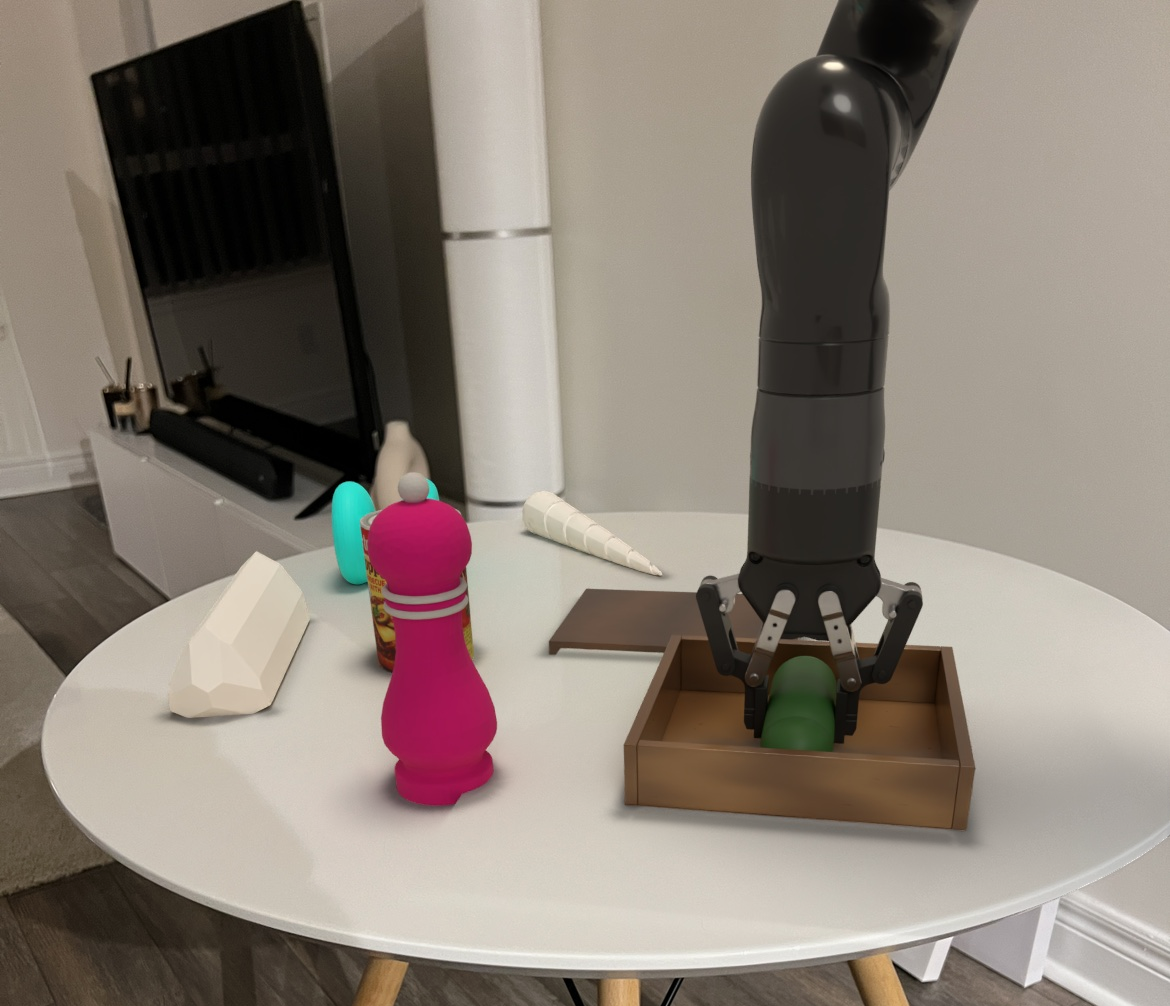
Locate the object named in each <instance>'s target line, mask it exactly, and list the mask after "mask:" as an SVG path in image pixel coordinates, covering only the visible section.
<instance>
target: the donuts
mask: <svg viewBox="0 0 1170 1006" xmlns="http://www.w3.org/2000/svg"><path fill="white" fill-rule="evenodd" d="M426 480H427V481H428V484H429V494H428V496H427V498H428V499H434V500H438V501H440V497H439V492H438V488H437V487H436V485H435V483H433V481H432V480H430V479H428V478H426ZM332 495H333V496H332V501H331V529H332V540H333V545H334V547H333V548H334V553H335V558H336V562H337V566H338V568H339V571H340V574H341V576H342V577H343V578H344V580H345V581H347V582H348V583H350V584H352V585H356V586H357V585H359V586H360V585H363V584H367V583H368V580H367V573H366V565H365V558H364V550H363V543H362V535H361V527H360V520H361V518H362V517H363V516H365V515H367V514H369V513H372V512H375V511H376V508H375V505H374V502H373V500H372V498H371V495H370V494H369V492H368V490H366V489H365V487H363V486H362V485H361V484H359V483H358V482H355V481H345V482H342V483H340V484H339V485H338V486H337V487H336V488H335V490H334V493H333V494H332ZM402 500H403V499H402V498H401V500H400V501H402Z"/></svg>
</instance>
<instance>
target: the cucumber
mask: <svg viewBox="0 0 1170 1006" xmlns="http://www.w3.org/2000/svg"><path fill="white" fill-rule="evenodd" d="M836 693H837V683H836V679H835V676H834V674H833V672H832V670H831V669H830V668H829V666H828V665H826V664H825V663H824V662H823V661H821V660H819V659H818V658H815V657H811V656H799V657H794V658H792V659H790V660H788V661H786V662H785V663H783V664H782V665H781V666H780V667H779V668H778V670H777V671H776V673H775V675H774V677H773V680H772V684H771V689H770V695H769V700H768V705H767V710H766V716H765V721H764V726H763V731H762V736H761V741H760V748H774V749H790V750H806V751H822V752H833V747H834V730H835V707H836Z"/></svg>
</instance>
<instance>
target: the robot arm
mask: <svg viewBox="0 0 1170 1006" xmlns="http://www.w3.org/2000/svg"><path fill="white" fill-rule="evenodd" d="M979 1H980V0H838V1H837V3H836V5H835V7H834V10H833V13H832V15H831V17H830V19H829V23H828V25H827V28H826V30H825V32H824V35H823V37H822V40H821V42H820V45H819V47H818V50H817V52H816V55H815V56H813V57H810V58H808V59H805V60H803V61H801V62H799V63H797V64H795V65H794V66H793V67H791V68H790V69H789V70H788V71H786V72H785V73H784V74H783V75H782V76H781V77H780V78H779V79H778V80H777V81H776V83H775V84H774V85H773V87H772V88H771V90H770V91H769V93H768V94H767V96H766V98H765V100H764V102H763V104H762V106H761V109H760V112H759V114H758V118H757V121H756V125H755V128H754V134H753V140H752V150H751V163H750V164H751V166H750V192H751V193H750V195H751V211H752V223H753V224H752V225H753V235H754V245H755V254H756V255H755V256H756V264H757V265H756V266H757V272H758V280H759V288H760V298H761V301H760V303H761V305H760V306H761V308H760V315H759V327H758V339H757V340H758V342H757V369H756V370H757V372H756V373H757V374H756V376H757V377H756V387H757V388H756V393H755V394H756V396H755V404H754V410H753V411H754V412H753V416H752V422H751V431H750V432H751V433H750V452H749V485H748V515H747V516H748V517H747V547H746V548H747V549H746V559H745V561H744V563H742V566H741V567H740V569H739V573H736V574H732V575H727V576H724V577H720V578H718V577H716V576H715V575H711V574H710V575H706V576H704V577H703V578H702V580H701V582H700V584H699V585H698V588H697V591H696V592H697V593H696V600H697V603H698V607H699V610H700V613H701V617H702V620H703V624H704V627H705V631H706V634H707V637H708V641H709V644H710V648H711V651H712V655H713V658H714V661H715V665H716V668H717V671H718V672H719V673H720V674H721V675H723V676H729V675H732V676H734V677H737V678H739V679H740V680H741V681H742V682H743V683H744V686H745V700H744V724H745V726H746V729H751V730H754V738H760V739H761V736H762V731H763V726H764V721H765V716H766V710H767V705H768V687H769V675H766V673H767V670H768V668H769V665H770V663H771V660H772V658H773V656H774V654H775V651H776V649H777V646H778V643H779V641H780V639H797V638H800V639H801V638H808V639H811V640H813V641H828V642H829V643H830V647H831V651H832V654H833V658H834V660H835V662H836V666H837V669H838V673H839V677H840V679H838V680H837V693H836V707H835V730H834V743H838V744H844V737H845V735H848V736H853V734H854V732H855V730H856V728H857V716H858V704H859V693H860V691H861V689H862V688H863V687H864V686H866V685H869V684H872V683H878V684H885V683H888V682H889V681H890V680H891V678H892V676H893V673H894V671H895V669H896V666H897V664H898V662H899V660H900V657H901V655H902V653H903V650H904V648H905V646H906V645H907V644H908V641H909V638H910V637H911V634H912V632H913V629H914V627H915V624H916V622H917V620H918V618H919V616H920V613H921V611H922V608H923V606H924V601H923V592H922V589H921V585H919V584H918V583H916V582H914V581H909V582H906V583H904V584H903V583H900V582H897V581H893V580H890V579H887V578H883V577H882V574H881V572H880V569H879V567H878V564H877V562H876V558H875V557H876V544H877V532H878V521H879V510H880V500H881V499H880V498H881V484H882V476H883V464H884V461H885V455H886V454H885V453H886V452H885V440H886V411H885V384H886V372H887V359H888V347H889V337H890V336H889V334H890V323H891V322H890V321H891V304H890V292H889V288H888V285H887V283H886V280H885V276H884V260H885V250H886V236H887V224H888V222H887V221H888V212H889V211H888V210H889V199H890V192H891V190H892V189H893V188H894V186H895V185H896V184H897V183H898V181H899V179H900V177H901V176H902V175H903V173H904V171H905V169H906V167H907V166H908V164H909V161H910V159H911V158H912V156H913V154H914V152H915V150H916V148H917V146H918V143H919V141H920V139H921V137H922V135H923V132H924V131H925V128H926V126H927V124H928V121H929V120H930V118H931V115H932V112H933V109H934V108H935V105H936V102H937V101H938V97H939V95H940V93H941V90H942V88H943V85H944V82H945V80H946V78H947V75H948V73H949V70H950V67H951V65H952V63H953V61H954V58H955V56H956V53H957V50H958V47H959V45H960V43H961V38H962V37H963V34H964V31H965V28H966V27H967V25H968V22H969V20H970V19H971V16H972V14H973V12H974V11H975V9H976V7H977V5H978V3H979ZM740 593H741V594H743V595H744V597H745V598H746V599H747V601H748V602H749V604H750V605H751V607H752V608H753V609H754V611H755V612H756V614H757V615H758V616H759V618H760V619H761V621H762V622H763V623H762V626H761V629H760V631H759V634H758V637H757V640H756V643H755V645H754V648H753V651H752V653H751V655H749V654H746V653H744V652H741V651H739V650H738V646H737V643H736V639H735V635H734V632H733V628H732V625H731V621H730V618H729V614H728V613H729V612H731V611H732V609H733V607H734V604H735V595H736V594H740ZM876 597H877V598H879V600H880V601H881V602H882V604H881V612H882V615H883V617H884V618H885V619H886V620H887V622H886V624H885V626H884V629H883V631H882V634H881V636H880V638H879V640H878V643H877V644H878V645H877V648H876V650H875V653H874V655H873V656H872V657H868V658H865V659H861V660H860V659H859V655H858V652H857V648H856V644H855V643H856V638H855V634H854V629H853V626H852V624H853V623H854V622H855V621H856V620H857V618H858V617H859V616H860V615H861V614H862V613H863V612H864V611H865V609H866V608H867V607H868V606H869V605H870V604H871V603H872V602H873V600H874V599H875V598H876Z"/></svg>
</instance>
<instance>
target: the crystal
mask: <svg viewBox="0 0 1170 1006" xmlns="http://www.w3.org/2000/svg"><path fill="white" fill-rule="evenodd" d="M310 616H311V615H310V613H309V609H308V606H307V602H306V599H305V595H304V592H303V591H302V589H301V588H300V587H299V585H298V584H297V583H296V582H295V580H294V579H293V578H292V577H291V575H290V574H289V573H288V572H287V570H286V569H285V568H284V567H283V566H282V564H281V563H279V562H278V561H276V560H274V559H272V558H270V557H268V556H266V555H265V554H263V553H261V552H259V551H258V550H256V551H255V552H254V553H253V554H252V555H251V556H250V557H249V558H248V559H247V560H246V561H245V562H244V563H243V564H242V565H241V566H240V568H239V569H238V570H237V572H236V573H235V575H234V576H233V577H232V579H231V580H230V581H229V583H228V584H227V586H226V587H225V588H224V590H223V591H222V592H221V594H220V595H219V597H218V598H217V599H216V601H215V602H214V604H213V605H212V606H211V608H210V609H209V611H208V612H207V614H206V615H205V616H204V617H203V619H202V621H201V622H200V623H199V624H198V625H197V627H196V629H195V630H194V631H193V633H192V634H191V635H190V637H189V638H188V640H187V641H186V643H185V644H184V646H183V647H182V649H181V652H180V654H179V657H178V659H177V662H176V665H175V667H174V669H173V672H172V675H171V677H170V679H169V683H168V689H167V691H168V692H167V697H168V705H169V711H170V712H172V713H174V714H177V715H179V716H181V717H184V718H187V719H191V718H193V719H194V718H207V717H209V718H210V717H211V718H212V717H225V716H226V717H227V716H241V715H252V714H256V713H258V712H260V711H262V710H264V709H265V708H267V707H269V706H271V705H272V703H273V702H274V699H275V697H276V695H277V692H278V690H279V688H280V686H281V684H282V682H283V679H284V677H285V674H286V673H287V671H288V669H289V666H290V663H291V661H292V660H293V657H294V655H295V653H296V650H297V648H298V646H299V644H300V642H301V640H302V637H303V635H304V633H305V631H306V628H307V627H308V624H309V622H310V619H311V617H310Z"/></svg>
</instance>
